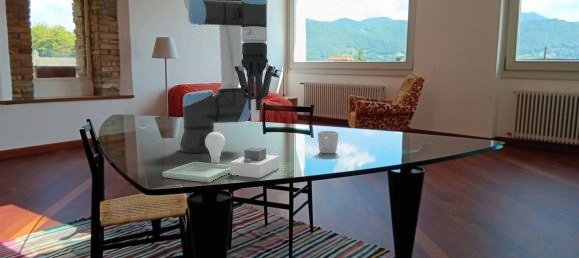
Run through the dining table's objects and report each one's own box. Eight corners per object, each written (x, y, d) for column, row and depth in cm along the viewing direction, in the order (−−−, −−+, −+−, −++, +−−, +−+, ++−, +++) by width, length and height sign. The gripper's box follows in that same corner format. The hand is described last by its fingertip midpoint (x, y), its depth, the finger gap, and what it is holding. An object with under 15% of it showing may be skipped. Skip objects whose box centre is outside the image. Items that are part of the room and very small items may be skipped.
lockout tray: (162, 177, 124) (162, 172, 124) (194, 165, 139) (194, 161, 139) (208, 182, 118) (208, 177, 118) (237, 170, 133) (236, 165, 133)
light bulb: (206, 162, 145) (205, 130, 143) (226, 161, 145) (225, 130, 144) (204, 166, 138) (203, 133, 137) (224, 166, 139) (224, 133, 137)
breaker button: (244, 162, 130) (244, 150, 129) (251, 159, 134) (251, 147, 134) (259, 164, 128) (258, 151, 127) (266, 161, 133) (266, 148, 132)
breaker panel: (230, 174, 127) (229, 159, 126) (251, 165, 140) (251, 151, 139) (259, 178, 123) (259, 162, 123) (279, 168, 136) (279, 153, 135)
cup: (336, 156, 155) (336, 135, 154) (315, 155, 157) (315, 134, 155) (339, 151, 165) (339, 131, 164) (318, 150, 167) (319, 130, 166)
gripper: (229, 42, 125) (230, 121, 128) (268, 40, 120) (269, 123, 123) (241, 44, 132) (242, 118, 135) (279, 42, 127) (279, 120, 130)
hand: (255, 120), depth 129 cm, fingers closed
